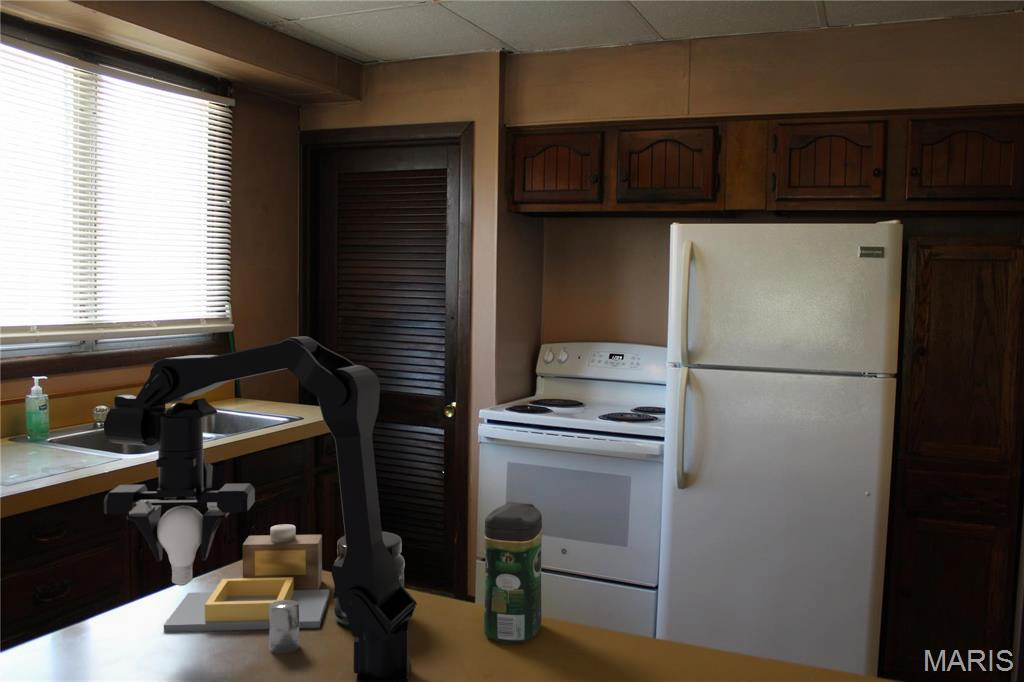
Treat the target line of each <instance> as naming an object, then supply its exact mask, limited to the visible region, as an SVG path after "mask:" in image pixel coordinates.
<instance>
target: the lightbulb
mask: <svg viewBox="0 0 1024 682" xmlns="http://www.w3.org/2000/svg"><path fill="white" fill-rule="evenodd" d="M203 515H204V514H202V513H201V512H200V511H199V510H198V509H196V508H195V507H192V506H190V505H177V506H174V507H172V508H170V509H168V510H166V512H165V513H163V515H162V516H160V520H159V522H158V526H157V537H158V540H159V542H160V544H161V545H162V546H163V549H164V550H165V553H167V555H168V556H167V557H168V561H169V562H170V565H171V574H172V575H171V583H173V584H175V585H176V586H179V587H183V586H186V585H188V584H189V583H191V582H192V581H193V567H194V566H193V565H194V561H195V558H196V553H197V550H198V548H199V547H200V545H201V544H202V520H203Z"/></svg>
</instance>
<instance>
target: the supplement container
mask: <svg viewBox="0 0 1024 682" xmlns="http://www.w3.org/2000/svg"><path fill="white" fill-rule="evenodd" d="M382 538H383V542H384V544H385V546H386V548H387V549H388V551H389V552H390V554H391V556H392V557H393V559H394V563H395V567H396V570H397V574H398V578H399V583H400V584H401V585H402V586H403V587H404V588H405V565H406V563H405V559H404V556H403V555H401V553H402V546H403V545H402V538H401V537H400V536H399V535H398V534H395V533H392V532H388V531H382ZM336 544H337V545H336V547H337V549H336V551H337V553H336V554H337V558H336V559H335V560H334V563H333V565H335V564H336V563H338V562H339V561H341V560H342V559H344V556H345V552H346V541H345V535H343V536H341V537H340V538H339V539H338V540H337V543H336ZM333 613H334V617H335V618H336V619H335V620H336V621H338V623H340V624H341V625H344V626H346V627H349V628H350V625H349V622H348V619H347V616H346V614H345V613H343V612H342V611H341V609H340V607H339V603H338V597H337V598H335V599H334V610H333Z"/></svg>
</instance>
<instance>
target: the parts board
mask: <svg viewBox="0 0 1024 682" xmlns="http://www.w3.org/2000/svg"><path fill="white" fill-rule="evenodd" d="M329 598H330V589H319V590H294V577H282V578H243V577H242V578H241V577H239V578H222V579H221V580H220V581H219V583H218V585H217V586H216V588H215V589H214V591H211V592H210V591H208V592H187V594H186V596H184V598H183V599H182V600H181V602H180V603H179V604H178V606H177V607H176V608H175V610H174V611H173V612H172V614H171V615H170V616H169V618H168V619H167V620H166V621H165V622H164V624H163V632H164V633H174V632H175V633H176V632H178V633H179V632H211V631H213V632H214V631H215V632H216V631H247V630H249V631H251V630H269V605H270V604H271V603H273V602H276V601H280V600H294V601H297V602H298V603H299V629H319V628H321V623H322V621H323V618H324V614H325V612H326V608H327V604H328V602H329ZM327 601H328V602H327Z"/></svg>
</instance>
